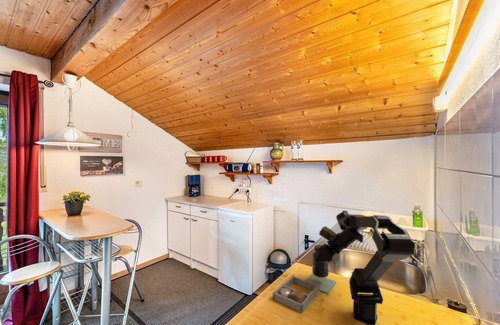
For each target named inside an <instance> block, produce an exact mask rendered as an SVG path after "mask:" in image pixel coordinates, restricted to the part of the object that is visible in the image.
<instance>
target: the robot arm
mask: <svg viewBox="0 0 500 325" xmlns="http://www.w3.org/2000/svg"><path fill="white" fill-rule="evenodd" d="M335 219H336V222H337V223H338V225H339V228H340V230H341V231H340V232H338V233H336V232H335V231H334V230H332V229H331V228H330V227H328V226H326V225H325V226H323V227H321V229H320V230H319V232H318V233H319V234H318V235H319V236H320V237H322V238H324V239H325V240H327V241H326V243H324V244H321V245H322V246H321V247H320V248H318V249H319V251H320V253H319V255H318V256H317V257H316V258H315V261H316V262H320V261H327V262H329V263H331V262H333V260H334V259H335V258H336V255H338V254H340V253H341V252H343V250H345V249H347V248H348V247H349V246H351V245H352V244H353V243H355V242H356V241H358V242H360V243H364V234H362V233H361V232H360V231H364V230H367V229H368V228H372V230H373V231H372V235H371V238H372V240H373V242H374V243H375V246H376V252H375V253H374V254H373V255H372V257H371V258H370V259H369V261H368V263H367V264H366V265H365V267H364V268H363V267H355V268H354V269H353V271H352V272H351V276H350V277H349V280H348V281H349V292H350V297H351V300H353V301H352V302H353V304H352V305H353V306H352V309H353V310H352V312H353V319H355V320H358V321H360V322H363V323H364V324H366V325H376V323H377V320H378V312H377V310H378V308H377V306H378V304H379V305H382V304H383V302H384V298H383V295H382V292H381V290H380V285H379V282H378V281H379V280H380V279H381V278H382V277H383V276H384V274H386V273H387V271H389V269H390V268H391V267H392V266H393V265H394V263H395V262H399V261H402V260H406V259H409V258H410V257H412V256H413V254H414V253H415V248H416V246H415V242H414V241H413V239H412V238H411V236H410V235H409V233H407V231H406V230H405V229H404V228H403V227H401V226H399V225H398V224H397V223H395V222H394V221H393V220H392V218H391V217H390V216H387V215H381V214H380V215H379V214H378V215H377V214H376V215H375V214H374V215H367V216H366V215H364V214H350V213H349V212H348V210H342V212H340V213H338V214H336V216H335ZM378 229H379V230H378ZM380 230H387V231H388V232H389V233H387V232H385V233H384V232H383V233H380V232H379V231H380Z"/></svg>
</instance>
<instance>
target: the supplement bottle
mask: <svg viewBox="0 0 500 325" xmlns="http://www.w3.org/2000/svg"><path fill="white" fill-rule="evenodd" d="M322 245H323V244H315V245H314V250H313V252H312V254H311V260H312V261H311V262H312V264H311V268H312V269H311V270H312V272H311V274H314V275H315V276H317V277H321V278H327V277H328V276H329V274H330V273H329V272H330V271H329V269H330V267H329V263H330V262H327V261H320V262H316V261H315V258H316V257H317V256H318V255H319V253H320V251H319V249H318V248H320V247H321V246H322Z"/></svg>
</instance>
